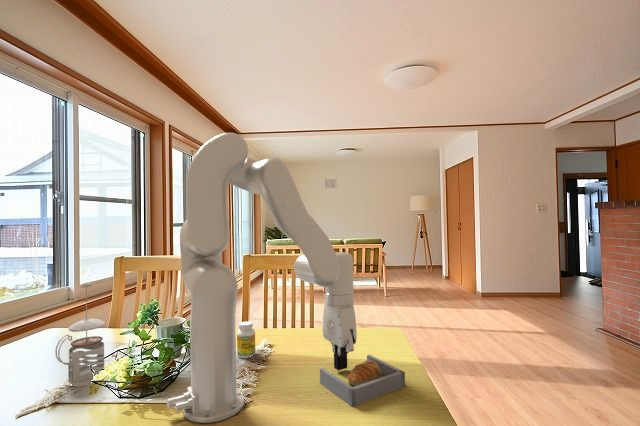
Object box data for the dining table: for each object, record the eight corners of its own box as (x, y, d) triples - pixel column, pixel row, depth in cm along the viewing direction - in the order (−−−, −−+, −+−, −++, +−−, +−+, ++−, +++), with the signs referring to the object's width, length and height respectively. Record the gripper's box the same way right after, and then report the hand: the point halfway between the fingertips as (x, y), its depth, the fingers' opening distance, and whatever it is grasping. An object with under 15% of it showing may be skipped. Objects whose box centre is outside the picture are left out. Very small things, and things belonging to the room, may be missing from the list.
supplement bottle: (252, 350, 109) (252, 319, 109) (257, 356, 104) (257, 324, 104) (235, 353, 106) (234, 322, 107) (239, 360, 102) (239, 326, 102)
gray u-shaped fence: (351, 406, 76) (351, 390, 76) (320, 383, 87) (319, 368, 87) (405, 386, 84) (404, 372, 84) (369, 367, 95) (369, 354, 95)
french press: (116, 375, 93) (115, 281, 94) (65, 393, 84) (64, 288, 84) (98, 366, 99) (97, 278, 99) (49, 383, 89) (48, 285, 89)
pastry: (363, 392, 82) (362, 375, 82) (340, 383, 87) (340, 368, 87) (384, 377, 89) (384, 362, 89) (362, 370, 94) (362, 356, 94)
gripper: (313, 295, 98) (314, 361, 97) (343, 307, 85) (345, 383, 85) (335, 292, 101) (337, 355, 101) (368, 302, 89) (369, 375, 88)
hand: (340, 368), depth 93 cm, fingers closed
